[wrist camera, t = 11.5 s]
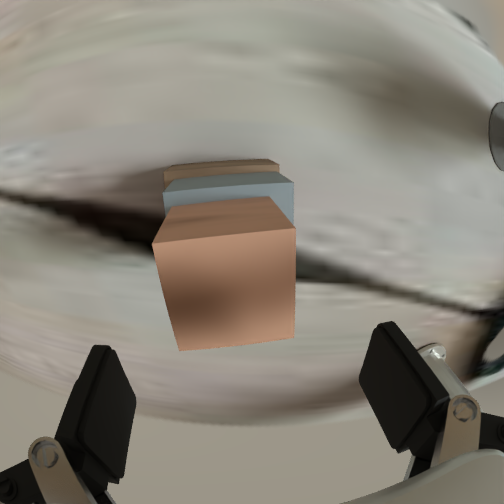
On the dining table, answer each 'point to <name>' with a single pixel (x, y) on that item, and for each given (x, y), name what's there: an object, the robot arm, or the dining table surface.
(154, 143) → the dining table surface
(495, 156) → the cup
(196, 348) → the terracotta cube
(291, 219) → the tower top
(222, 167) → the tower base
